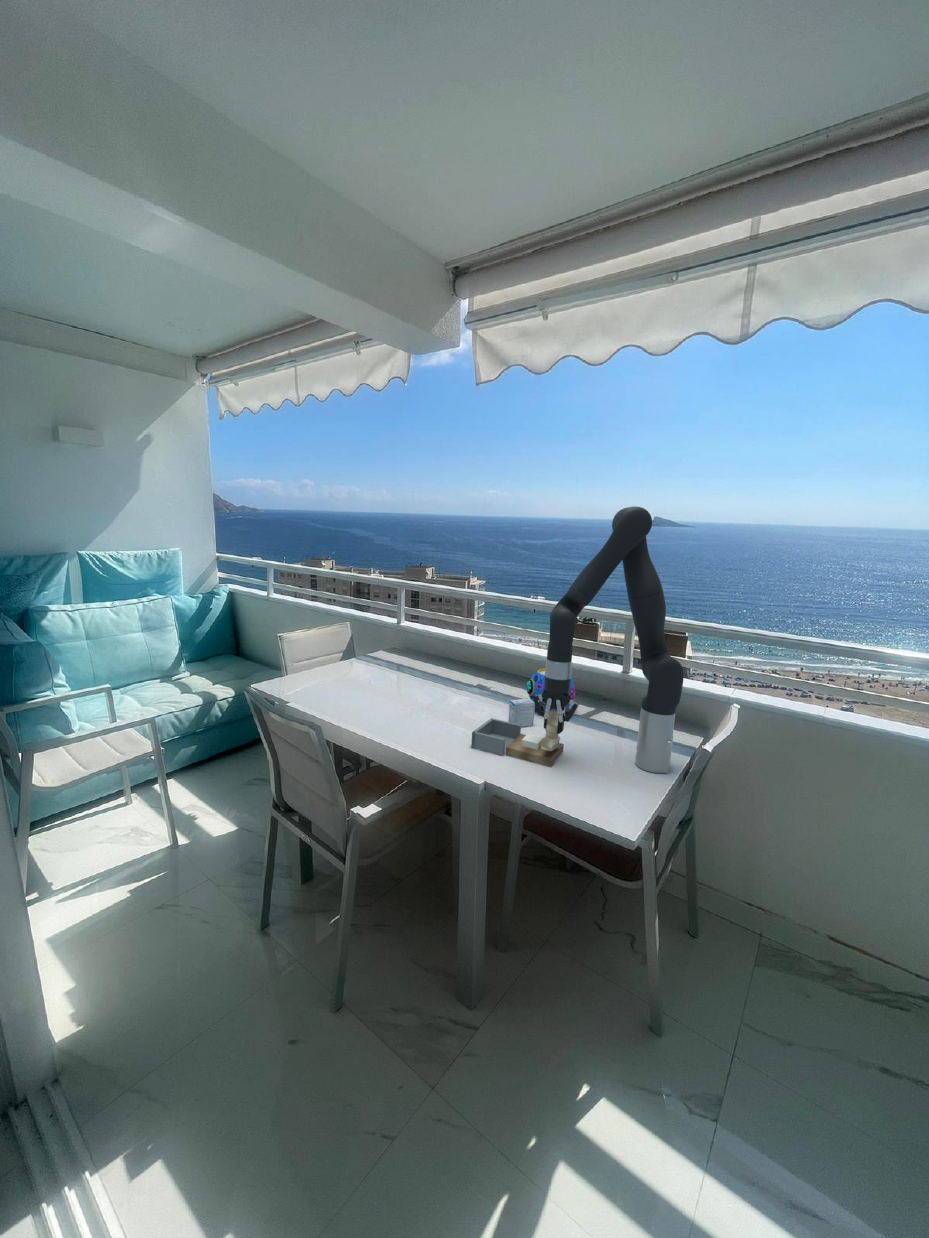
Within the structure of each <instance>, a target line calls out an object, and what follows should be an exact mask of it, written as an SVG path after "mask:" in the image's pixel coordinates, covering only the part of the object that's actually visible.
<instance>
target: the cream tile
mask: <svg viewBox="0 0 929 1238" xmlns="http://www.w3.org/2000/svg"><path fill="white" fill-rule="evenodd" d="M525 735H526V736H525V737H524V738H523V739H522V746H524V747H528V748H532V749H536V750H538V749H539V748H540V746H541V745H542V739H543V738H544V737H542V736H538V735H533V734H529V733H527V734H525Z"/></svg>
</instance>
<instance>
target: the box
mask: <svg viewBox="0 0 929 1238" xmlns="http://www.w3.org/2000/svg"><path fill="white" fill-rule="evenodd" d="M521 731H522V727H521V725H519V724H515V723H510V722H508V721H505V720H501V719H497V718H493V717H490V718H489V719H488V720H487V721H486V722H484V723H482V724H481V725H480V726H479V727H477V728H475V730H473V731H472V732H471V749H476V750H478V749H479V750H478V751H481V752H482V751H483V752H487V753H491V754H494V755H498V756H502V757H504V756H505V755H506V747H507V746H508V745H509V744H510V743H511V742H513V741H514V740H515V739H516V738H517V737H518V736H519V735H520V734H522V733H521Z"/></svg>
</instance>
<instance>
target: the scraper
mask: <svg viewBox="0 0 929 1238" xmlns="http://www.w3.org/2000/svg"><path fill="white" fill-rule="evenodd" d="M558 722H559V715H558V712H557V710H554V709H551V710H550V711H549V713H548V720H547V727H546V731H545V736H544V737H543V739H542V746H541V749H544V750H548V751H553V750H554V749H556V748H558V747H559V743H561V736H559V734H557V730H558Z"/></svg>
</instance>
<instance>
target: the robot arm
mask: <svg viewBox="0 0 929 1238" xmlns="http://www.w3.org/2000/svg"><path fill="white" fill-rule="evenodd" d="M652 526H653V518H652V515H651V514H650V512H649V511H648V510H647V509H646V508H644V507H641V506H629V507H624V508H622V509H620V510H619V511H616V513H615V515H614V516H613V519H612V521H611V527H612V528H611V529H612V532H611V534H610V536H609V537H608V539H607V541H606V543H604V545H603V547H602V548H601V549H600V551H598V552H597V554H596V555H595V556H594V557H593V558H592V559H591V560H590V561H589V562H588V563H587V565H586V566H584V568H583V569H582V570H581V571H580V573H579V574H578V575H577V577H576V578H575V579H574V581H573V582H572V584H571V585H570V587H569V588H568V590H567V591H566V593H565V594H564V595H563V597H561V598H560V599H559V601H558V602H557V603H556V605H555V606H554V607H553V608H552V610H551V612H550V613H549V641H548V643H547V653H546V662H545V667H544V669H545V678H544V691H543V693H542V694H540V695H539V694H536V695H535V696H534V697H533V700H534V703H535V706H536V707H535V710H536V711H537V714H538V715H539V716H541V717H542V718H543V729H545V732H546V727H547V720H548V713H549V711H550V710H551V709H556V710H557V712H558V715H559V722H558V730H557V734H558V735H560V734H561V733H563V732H564V729H565V728H564V727H565V722H569V721H570V720H571V719H572V717H573V716H574V714H575V713H576V711H577V709H578V707H579V706H580V703H579V702H578V701H574V700H571V697H570V685H571V677H572V675H573V673H572V672H573V666H572V661H573V660H572V659H573V649H574V648H573V643H574V642H573V641H574V638H575V637H574V636H575V631H576V623H577V621H576V620H577V617H578V616H579V615H580V613H581V612H582V611H583V609H584V608H585V607H587V606H589V604H590V603H591V602H592V601H593V600H594V598H595V597H596V596H597V594H598V593H599V592H600V590H601V589H602V587H603V586H604V584H605V583H606V582H607V580H608V579H609V577H610V576H611V575H612V574H613V572H614V571H615V570H616V568H617V567H618V566H619V565H620V564H621V562H622V565H623V566H622V567H623V575H624V581H625V582H624V583H625V588H626V593H627V598H628V603H629V608H630V612H631V615H632V620H633V624H634V628H635V632H636V634H637V635H636V636H637V637H638V638H637V639H638V645H639V654H640V665H641V672H642V674H643V676H644V678H645V679H646V681H648V686H647V692H646V693H647V694H646V695H645V696H643V697H642V699H641V706H640V714H639V722H638V723H639V724H638V732H637V740H636V741H637V742H636V754H635V762H634V763H635V765H636V767H638V768H639V769H641V770H643V771H646V772H650V773H655V774H669V769H670V766H671V760H672V758H671V757H672V751H673V742H674V728H675V720H676V712H677V707H679V704H680V701H681V697H682V691H683V686H684V678H685V675H684V673H685V672H684V668H683V666H682V663H681V662H679V661H678V659H675V658H673V657H672V656H671V654H670V652H669V649H668V645H667V642H666V638H665V624H666V615H667V606H666V599H665V595H664V589H663V585H662V582H661V579H660V577H659V574H658V572H657V570H656V567H655V565H654V562H653V561H652V559H651V557H650V553H649V549H648V542H647V536H648V534H649V533H650V531H651V530H652ZM542 698H543V700H544V701H545V703H546V709H545V710H544V707H543V705H542V702H541V701H542ZM568 703H569V704H570V706H569V709H570V710H569V711H568V713H567V714H565V713H566V709H565V706H566V705H567V704H568Z"/></svg>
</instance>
